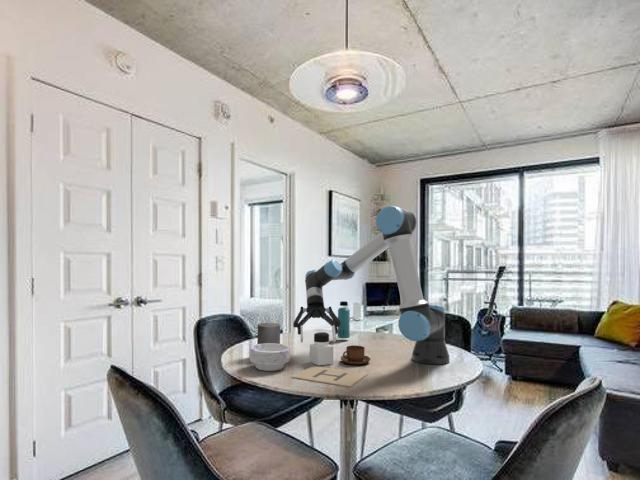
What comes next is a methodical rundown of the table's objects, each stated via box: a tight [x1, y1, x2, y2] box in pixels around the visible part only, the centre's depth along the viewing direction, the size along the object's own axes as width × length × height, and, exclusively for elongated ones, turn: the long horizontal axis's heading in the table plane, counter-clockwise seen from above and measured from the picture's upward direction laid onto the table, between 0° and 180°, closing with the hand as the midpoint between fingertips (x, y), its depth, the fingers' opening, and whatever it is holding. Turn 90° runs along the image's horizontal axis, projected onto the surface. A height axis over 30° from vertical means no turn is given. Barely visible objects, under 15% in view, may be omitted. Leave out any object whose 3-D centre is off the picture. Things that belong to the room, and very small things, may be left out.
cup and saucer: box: [340, 345, 371, 365], centre depth 160 cm, size 12×12×6 cm
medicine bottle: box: [309, 331, 334, 367], centre depth 159 cm, size 7×7×12 cm
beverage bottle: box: [336, 300, 351, 339], centre depth 205 cm, size 6×7×20 cm
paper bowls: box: [249, 343, 291, 372], centre depth 151 cm, size 15×15×8 cm
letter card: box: [291, 365, 368, 388], centre depth 140 cm, size 22×16×1 cm
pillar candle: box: [256, 322, 281, 345], centre depth 168 cm, size 10×10×15 cm
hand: (318, 340), depth 162 cm, fingers open, 13 cm apart
